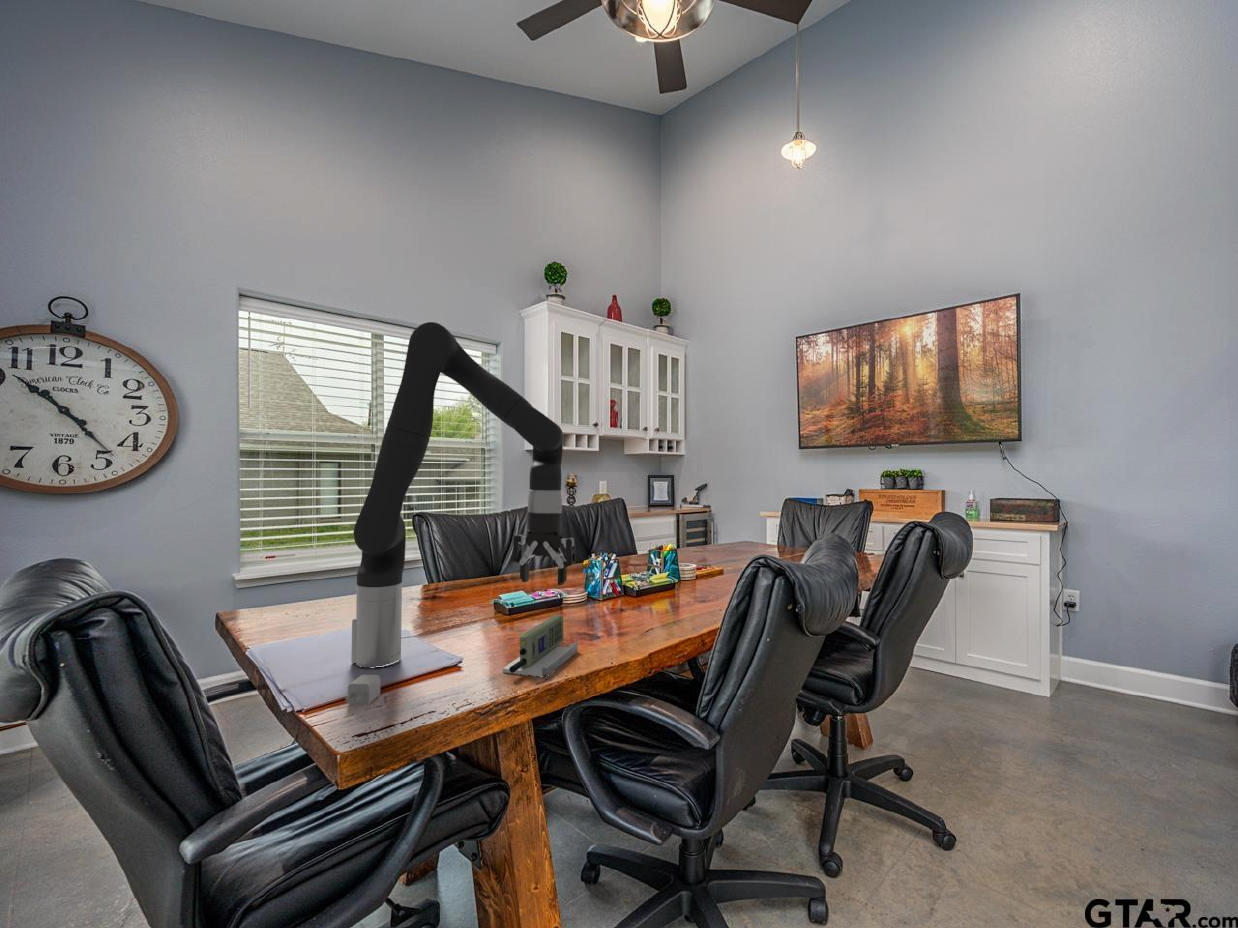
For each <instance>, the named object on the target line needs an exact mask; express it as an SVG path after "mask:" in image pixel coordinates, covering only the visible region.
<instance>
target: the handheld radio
mask: <svg viewBox="0 0 1238 928" xmlns="http://www.w3.org/2000/svg"><path fill="white" fill-rule="evenodd" d="M564 640H565V639H564V615H563V614H554V615H552V616H550V617H549V618H547V619H545V620H543V621H541V622H540V623H538V624H537V625H535V626H533V627H532V628H530V629H529V630H527V631H525V632H524V633H522V634H521V635H520V636H519V657H520V661H519V662H517V663H516V664H514V665H513V666H511V667H510V668H509V671H510V672H511V673H510V674H512V673H514V672H515V671H517V670H518V669H519V668H520V669H526V668H528V667H529V666H531V665H532V664H533V663H535V662H536V661H537V660H539V659H540V658H542V657H543V656H544V655H546V654H547V653H548V652H550V651H551V650H552V649H554V648H555V647H556V646H560V644H562V643H564Z"/></svg>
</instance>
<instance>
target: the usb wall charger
mask: <svg viewBox="0 0 1238 928" xmlns="http://www.w3.org/2000/svg"><path fill="white" fill-rule="evenodd" d="M380 695H381V676H380V675H378V674H361V675H360V676H358V677H357V678H355V680H353V681H352V682H351V683H349V684H348V685H347V696H346V697H345V702H346V703H347V704H348V705H349V706H361V707H364V706H365V707H368V706H369V705H370V704H371V703H372V702H373V701H375V700H376V699H377V698H378V697H379V696H380Z"/></svg>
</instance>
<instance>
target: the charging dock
mask: <svg viewBox="0 0 1238 928" xmlns="http://www.w3.org/2000/svg"><path fill="white" fill-rule="evenodd" d="M578 649H579V648H578V642H572V643H571V644H570V645H569V646H561V645H558V646H556V647H555V648H554V649H552V650H551V651H550V652H548V653H547V654H546V655H544V656H543V657H542V658H540V659H539V660H537V661H536V662H535V663H533V664H532V665H531V666H529V667H528V668H526V669H520V668H519V669H518V670H517V671H515V672H514V673H511V672H510V671H509V668H510V667H511V666H513V665H514V664H516V663H517V662H519V661H520V656H518V657H517V658H515V659H514V660H513V661H511V662H510V663H509V664H506V666H504V667H503V668H502V673H506V674H513V675H520V674H521V676H522V675H523V676H528V675H532V676H531V677H536V676H543V677H542V678H544V677H547V676H548V675H549V676H551V675H552V674H553V673H554V672H555V671H556V670H558V669H559V668H560V667H561V666H562V665H564V662H565V661H566V662H567V661H568V660H569V659H571V658H572V657H573V656H574V655H575V654H577V653H578ZM566 662H565V663H566ZM558 667H559V668H558ZM557 668H558V669H557ZM553 671H554V672H553ZM552 672H553V673H552ZM551 673H552V674H551ZM550 674H551V675H550ZM549 676H548V677H549ZM548 677H547V678H548Z"/></svg>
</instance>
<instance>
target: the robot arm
mask: <svg viewBox="0 0 1238 928" xmlns="http://www.w3.org/2000/svg"><path fill="white" fill-rule="evenodd" d="M404 361H405V363H404V367H403V373H402V377H401V381H400V384H399V387H398V391H397V393H396V396H395V399H394V401H393V402H394V403H393V406H392V409H391V413H390V415H389V417H388V421H387V424H386V427H385V429H384V430H385V431H384V434H383V438H382V441H381V446H380V449H379V453H378V456H377V460H376V464H375V468H374V473H373V476H372V480H371V485H370V488H369V490H368V493H367V496H366V498H365V500H364V503H363V506H362V508H361V509H360V513H359V514H358V517H357V520H356V522H355V524H354V527H353V539H354V543H355V545H356V547H358V549H359V550H360V551H361V561H360V565H359V567H358V570H357V572H356V598H355V599H356V600H355V601H356V602H355V603H356V607H355V609H356V610H355V613H356V614H355V618H353V619H352V620H351V659H350V660H351V662H352V663H356V664H355V666H356V665H358V666H361V667H376V666H383V665H386V664H390V663H393V662H395V661H397V660H399V659H400V658H401V659H402V621H403V620H402V615H403V614H402V607H403V593H402V592H403V574H404V573H403V572H404V569H405V562H406V543H407V541H406V540H407V539H406V538H407V537H406V535H407V533H406V532H407V531H406V523H405V522H404V519H403V517H402V516H401V513H402V510H403V509H402V508H403V504H404V501H405V498H406V495H407V492H408V489H409V488H410V486H411V483H412V482H413V480H414V479H415V476H416V475H417V473H418V471H419V469H420V467H421V465H422V463H423V460H424V458H425V455H426V452H427V449H428V446H429V443H430V442H429V441H430V439H431V437H432V430H433V423H434V410H435V409H434V408H435V407H434V406H435V405H434V404H435V393H436V392H435V391H436V388H437V384H438V380H439V377H440V375H441V374H442V375H445V376H446V377H448V378H449V379H451V380H453V381H454V382H455V383H457V384H458V385H460V386H461V387H463V388H464V389H465V390H466V391H467V392H469V394H470V395H472V396H473V397H474V398H475V399H476V400H477V401H478V402H479V403H480V404H481V405H482V406H483V407H485V409H487V410H488V411H489V412H490V413H492V414H493V415H494V416H496V417H497V419H499V420H500V421H502V422H503V423H504V424H505V425H507V426H508V427H510V428H512V429H513V430H514V431H515V432H516V433H517V434H518V435H520V436H521V438H523V440H525V441H526V442H527V443H528V444H530V445H531V446H532V465H531V467H530V470H529V491H528V498H527V526H526V527H527V528H526V529H527V534H526V535H524V534H521V533H520V534H516V535H514V536H513V542H512V553H511V555H512V556H511V560H512V562H513V563H517V564H519V572H520V573H519V578H520V580H521V582H522V583H528V582H529V581H530V564H529V563H530V562H531V560H532V559H533V557H534V556H535V557H541V556H542V557H545V558H548V557H549V558H550V557H551V558H552V560H553V561H554V562H555V563H556V564H557V566H558V568H557V585H558V586H563V585H564V584H565V583H566V582H567V579H568V578H567V577H568V576H567V575H568V567H571V566H573V565H575V564H576V562H577V561H576V540H575V537H568V538H564V537H562V520H563V519H562V517H563V516H562V514H563V498H562V497H563V496H562V460H563V452H564V451H563V449H564V433H563V430H562V428H561V427H560V425H558V424H557V423H556V422H555V421H553V420H552V419H550V418H549V417H548V416H546V414H544V413H543V412H541V411H539V410H538V409H537V408H535V407H534V406H532V404H531V403H530V402H529V401H528V400H527V399H526V398H524V397H523V396H522V395H521V394H519V392H518V391H516V390H515V389H513V388H512V386H510V385H508V383H505V382H504V381H502V380H501V379H500V378H499V377H496V376H495V375H494V374H492V373H490V372H489V371H488V370H486V369H485V368H484V367H482V366H481V365H480V364H479V363H478V362H477V361H476V360H474V359H473V358H472V357H471V356H470V355H469V354H468V353H467V352H466V351H465V349H464V348H463V347H462V346H461V345H460V344H459V342H458V341H457V339H456V338H455V336H454V335H453V333H451V332H450V331H449V330H448V329H447V328H446V327H445V326H443V325H442V324H441V323H438V322H436V321H426V322H423V323H421V324H419V325H418V326H417V327H416V328H415V329H414V330H413V331H412V333H411V335H410V338H409V340H408V345H407V351H406V356H405V360H404ZM525 543H526V544H527V546H528V548H527V550H526V551H525V552H524V554H523V546H524V545H525ZM562 545H563V547H564V548H565V553H566V554H565V555H566V558H565V557H564V553H563V552H562V551H561V548H560V547H562ZM352 663H351V664H352ZM358 666H357V667H358ZM361 667H360V668H361Z"/></svg>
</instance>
